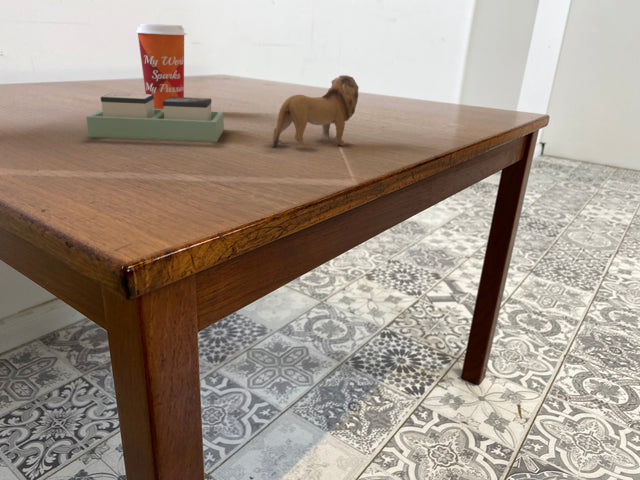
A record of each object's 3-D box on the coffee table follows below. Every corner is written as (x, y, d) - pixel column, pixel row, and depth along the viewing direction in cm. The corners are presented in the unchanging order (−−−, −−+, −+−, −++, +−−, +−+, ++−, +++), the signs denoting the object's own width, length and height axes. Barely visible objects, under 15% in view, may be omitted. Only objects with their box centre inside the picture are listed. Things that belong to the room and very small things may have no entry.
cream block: (104, 132, 68) (100, 97, 66) (114, 126, 72) (111, 92, 70) (148, 134, 68) (145, 98, 66) (155, 127, 72) (153, 94, 71)
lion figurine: (337, 136, 77) (341, 73, 74) (364, 142, 74) (370, 76, 70) (259, 147, 68) (259, 75, 64) (286, 155, 64) (288, 80, 61)
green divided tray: (216, 145, 67) (216, 121, 66) (89, 141, 66) (86, 116, 65) (224, 133, 75) (223, 111, 74) (109, 128, 74) (107, 106, 73)
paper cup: (145, 119, 82) (137, 23, 77) (139, 111, 89) (132, 22, 83) (194, 118, 85) (191, 26, 80) (185, 110, 92) (181, 25, 86)
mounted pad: (164, 136, 68) (162, 101, 67) (171, 129, 73) (169, 96, 71) (207, 137, 69) (206, 103, 67) (212, 131, 73) (211, 98, 71)
